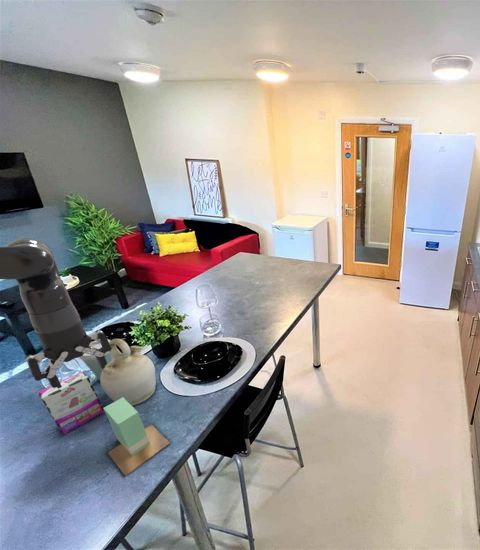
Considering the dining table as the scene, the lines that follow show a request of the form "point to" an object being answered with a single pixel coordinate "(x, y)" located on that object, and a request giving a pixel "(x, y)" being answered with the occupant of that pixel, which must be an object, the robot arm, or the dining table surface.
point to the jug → (128, 374)
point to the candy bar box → (72, 402)
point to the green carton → (127, 426)
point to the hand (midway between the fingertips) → (81, 376)
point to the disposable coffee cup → (92, 361)
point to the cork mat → (133, 462)
